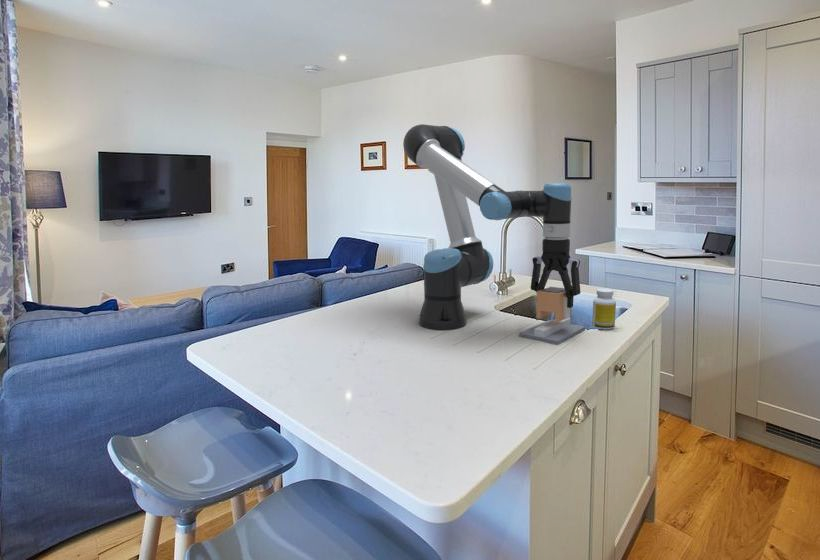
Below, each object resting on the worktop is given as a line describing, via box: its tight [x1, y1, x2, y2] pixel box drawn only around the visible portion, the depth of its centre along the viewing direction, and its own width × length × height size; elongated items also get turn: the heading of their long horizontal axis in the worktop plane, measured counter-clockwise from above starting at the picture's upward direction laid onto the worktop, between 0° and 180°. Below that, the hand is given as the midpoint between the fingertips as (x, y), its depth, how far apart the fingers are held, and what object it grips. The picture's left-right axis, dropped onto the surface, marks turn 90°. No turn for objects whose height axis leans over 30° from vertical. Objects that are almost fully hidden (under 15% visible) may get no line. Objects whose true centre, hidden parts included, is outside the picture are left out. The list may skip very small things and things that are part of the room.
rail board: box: [518, 317, 586, 346], centre depth 148 cm, size 12×18×3 cm, turn 138°
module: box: [536, 286, 573, 322], centre depth 146 cm, size 7×8×8 cm
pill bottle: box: [591, 288, 617, 331], centre depth 152 cm, size 6×6×12 cm
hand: (554, 316), depth 147 cm, fingers closed on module, 7 cm apart
